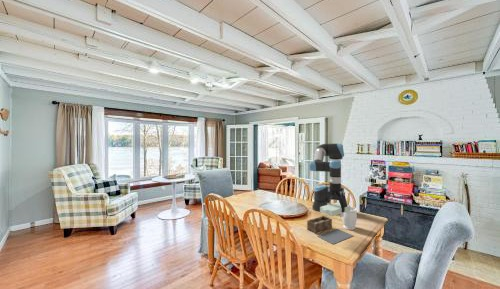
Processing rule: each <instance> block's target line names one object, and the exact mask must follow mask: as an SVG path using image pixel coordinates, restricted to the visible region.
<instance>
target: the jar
mask: <svg viewBox="0 0 500 289" xmlns="http://www.w3.org/2000/svg"><path fill="white" fill-rule="evenodd" d="M357 210H358V209H357V208H356V207H354V206H353V207H352V206H350V211H348V212H345V213H344V216H343V217H341V218H342V223H343V228H344V229H346V230H349V231H350V230H351V231H352V230H353V231H354V230H355V229H356V224H357V219H358V218H357V217H358V215H357V214H358V213H357Z"/></svg>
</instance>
